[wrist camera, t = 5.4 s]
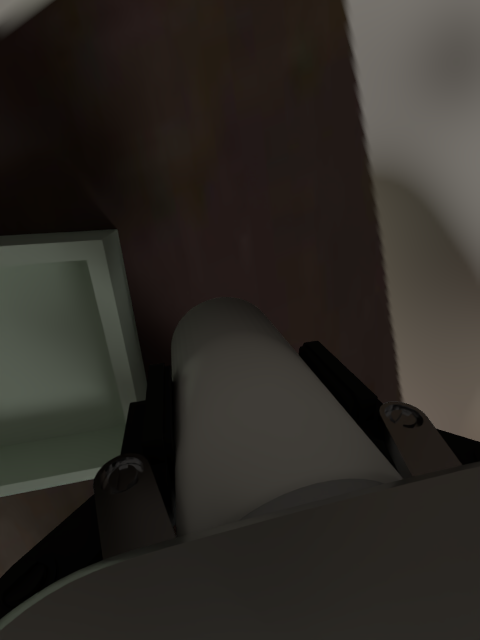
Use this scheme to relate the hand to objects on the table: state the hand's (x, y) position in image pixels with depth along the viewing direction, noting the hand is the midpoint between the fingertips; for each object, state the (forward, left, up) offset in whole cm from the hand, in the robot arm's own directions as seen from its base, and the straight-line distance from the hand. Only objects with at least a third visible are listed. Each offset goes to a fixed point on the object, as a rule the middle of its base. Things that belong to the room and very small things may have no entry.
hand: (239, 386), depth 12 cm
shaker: (0, 0, -4) cm, 4 cm away
